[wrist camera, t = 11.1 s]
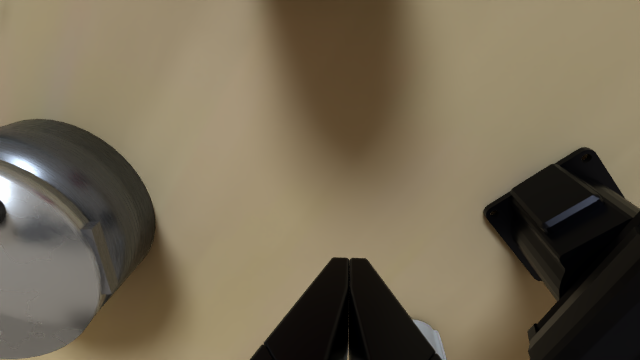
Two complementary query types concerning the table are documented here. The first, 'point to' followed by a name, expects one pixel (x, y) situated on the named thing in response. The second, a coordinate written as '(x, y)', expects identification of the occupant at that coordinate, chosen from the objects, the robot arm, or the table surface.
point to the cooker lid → (46, 266)
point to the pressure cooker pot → (87, 184)
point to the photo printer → (432, 338)
